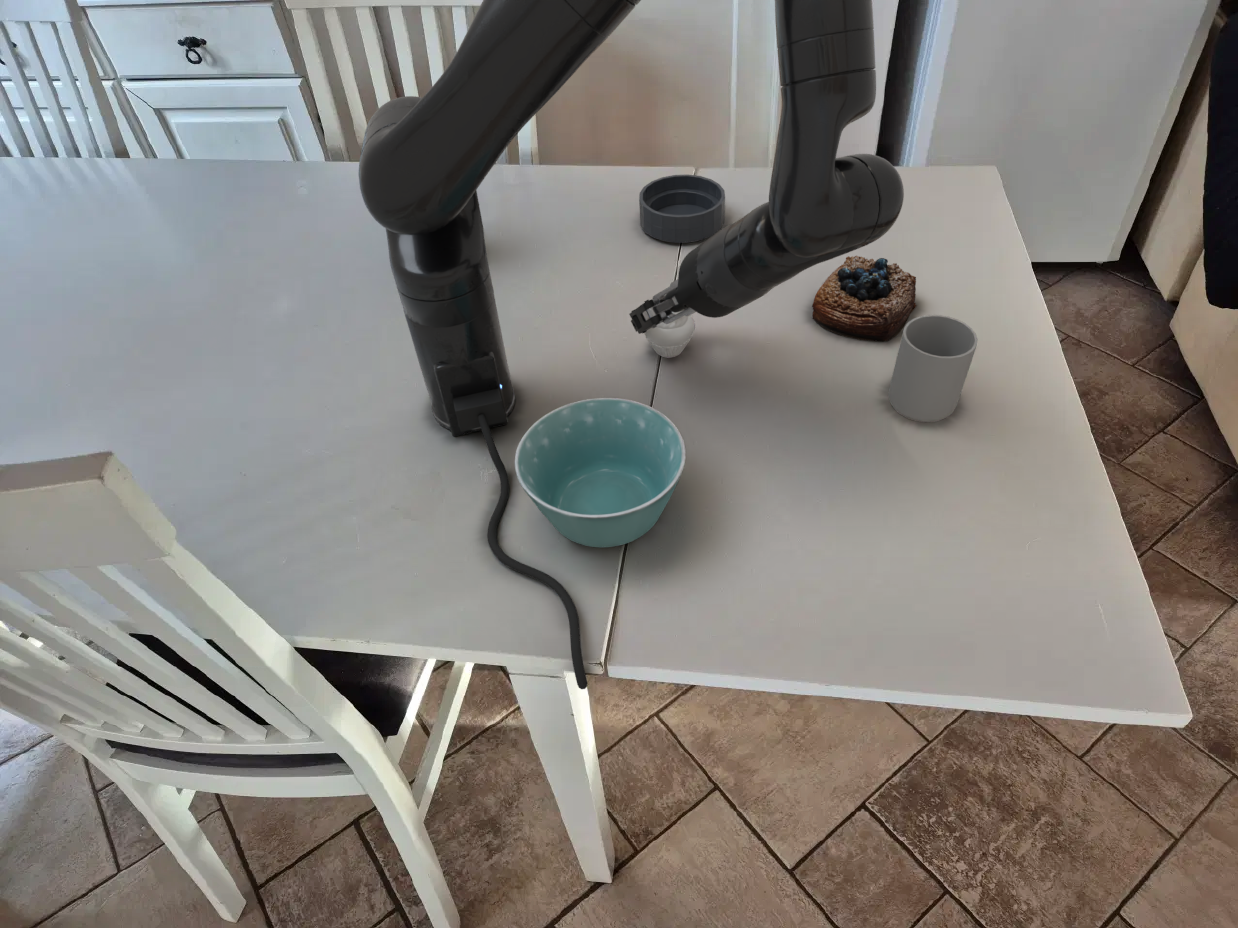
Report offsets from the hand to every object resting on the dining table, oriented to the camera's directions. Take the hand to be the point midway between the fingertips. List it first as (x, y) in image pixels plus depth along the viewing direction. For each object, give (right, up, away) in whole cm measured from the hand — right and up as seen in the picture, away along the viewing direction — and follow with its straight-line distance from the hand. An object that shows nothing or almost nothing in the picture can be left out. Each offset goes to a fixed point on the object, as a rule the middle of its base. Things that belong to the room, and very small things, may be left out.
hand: (659, 313), depth 95 cm
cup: (+29, -10, -6) cm, 31 cm away
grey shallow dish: (+4, +17, +22) cm, 28 cm away
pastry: (+26, +1, +5) cm, 26 cm away
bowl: (-6, -22, -15) cm, 28 cm away
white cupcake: (+1, -4, +2) cm, 5 cm away
